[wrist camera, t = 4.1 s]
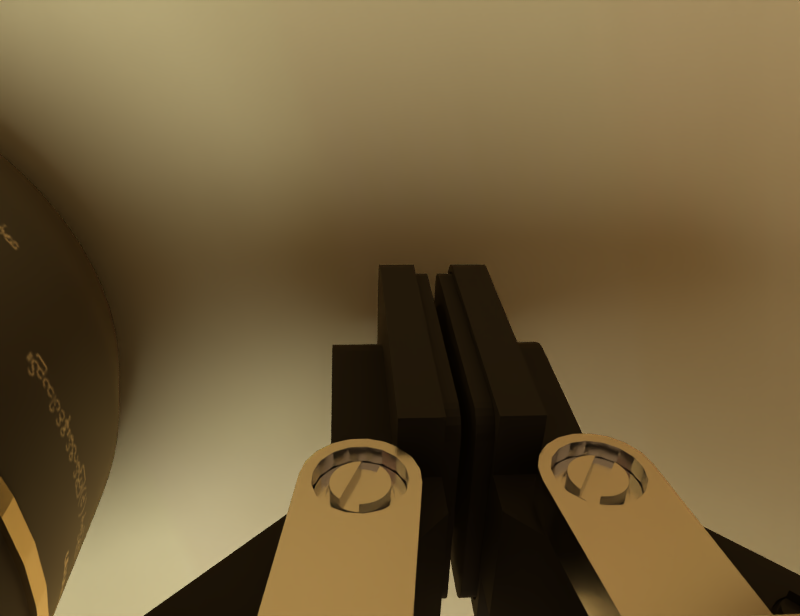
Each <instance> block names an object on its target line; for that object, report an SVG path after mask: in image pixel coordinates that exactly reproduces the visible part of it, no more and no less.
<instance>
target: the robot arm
mask: <svg viewBox="0 0 800 616" xmlns="http://www.w3.org/2000/svg"><path fill="white" fill-rule="evenodd" d="M450 559H451V564H452V570H453V576H454V582H455V588H456V592H457V596H458V597H459V598H465V597H471V601H472V606H473V611H474V616H800V575H798V574H796V573H794V572H792V571H790V570H788V569H786V568H784V567H782V566H780V565H778V564H776V563H774V562H772V561H770V560H768V559H766V558H764V557H763V556H761V555H759V554H757V553H755V552H753V551H751V550H749V549H747V548H745V547H743V546H741V545H739V544H737V543H735V542H733V541H731V540H729V539H727V538H725V537H723V536H721V535H719V534H717V533H715V532H713V531H711V530H709V529H707V528H705V527H703V526H702V524H701V523H700V522H699V521H698V519H697V518H696V517H695V516H694V514H693V513H692V512H691V511H690V509H689V508H688V507H687V506H686V504H685V503H684V502H683V500H682V499H681V498H680V497H679V495H678V494H677V493H676V492H675V490H674V489H673V488H672V487H671V485H670V484H669V483H668V482H667V480H666V479H665V478H664V477H663V475H662V474H661V473H660V471H659V470H658V469H657V468H656V466H655V465H654V464H653V463H652V462H651V461H650V460H649V459H648V458H647V457H646V456H645V455H644V454H643V453H642V452H640V451H638V450H637V449H635V448H633V447H632V446H630V445H628V444H627V443H625V442H622V441H619V440H616V439H614V438H611V437H608V436H602V435H596V434H582V432H581V430H580V428H579V425H578V423H577V421H576V419H575V417H574V415H573V413H572V410H571V408H570V406H569V404H568V402H567V400H566V397H565V395H564V393H563V391H562V389H561V387H560V385H559V382H558V380H557V378H556V376H555V374H554V372H553V370H552V367H551V365H550V363H549V361H548V359H547V357H546V355H545V352H544V350H543V348H542V347H541V345H540V344H539V343H537V342H517V341H516V338H515V336H514V333H513V331H512V329H511V326H510V324H509V321H508V319H507V317H506V314H505V312H504V309H503V307H502V304H501V302H500V300H499V297H498V295H497V292H496V290H495V287H494V285H493V283H492V280H491V278H490V275H489V273H488V271H487V268H486V266H485V265H450V266H449V270H448V274H437V275H436V282H435V298H434V300H433V296H432V291H431V287H430V283H429V279H428V275H427V274H416V273H415V268H414V265H379V280H378V340H377V344H363V345H333V348H332V421H331V444H330V445H328V446H326V447H324V448H322V449H320V450H318V451H316V452H315V453H314V454H313V455H312V456H311V457H310V458H308V459H307V460H306V461H305V463H304V465H303V467H302V469H301V471H300V472H299V475H298V478H297V482H296V485H295V489H294V492H293V496H292V499H291V503H290V506H289V509H288V513H287V515H285V516H284V517H282V518H281V519H279V520H278V521H277V522H275V523H274V524H272V525H271V526H270V527H268V528H267V529H265V530H264V531H263V532H261V533H260V534H258V535H257V536H255V537H254V538H253V539H251V540H250V541H248V542H247V543H246V544H244V545H243V546H241V547H240V548H239V549H237V550H236V551H234V552H233V553H232V554H230V555H229V556H227V557H226V558H224V559H223V560H222V561H220V562H219V563H217V564H216V565H215V566H213V567H212V568H210V569H209V570H208V571H206V572H205V573H203V574H202V575H200V576H199V577H198V578H196V579H195V580H193V581H192V582H191V583H189V584H188V585H186V586H185V587H184V588H182V589H181V590H179V591H178V592H176V593H175V594H174V595H172V596H171V597H169V598H168V599H167V600H165V601H164V602H162V603H161V604H160V605H158V606H157V607H155V608H154V609H152V610H151V611H150V612H148V613H147V614H145V615H144V616H440V611H441V598H446V597H447V593H448V582H449V570H450Z"/></svg>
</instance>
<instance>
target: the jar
mask: <svg viewBox="0 0 800 616" xmlns="http://www.w3.org/2000/svg"><path fill="white" fill-rule="evenodd" d="M118 424H119V355H118V344H117V338H116V332H115V327H114V323H113V319H112V315H111V312H110V308H109V305H108V302H107V299H106V296H105V294H104V291H103V289H102V286H101V284H100V281H99V279H98V277H97V275H96V273H95V271H94V269H93V267H92V265H91V263H90V261H89V259H88V258H87V256H86V254H85V252H84V250H83V249H82V247H81V246H80V244H79V242H78V241H77V239H76V238H75V236H74V235H73V233H72V232H71V230H70V229H69V227H68V226H67V225H66V223H65V222H64V221H63V219H62V218H61V216H60V215H59V214H58V213H57V212H56V210H55V209H54V208H53V207H52V205H51V204H50V203H49V202H48V201H47V199H46V198H45V197H44V196H43V195H42V194H41V193H40V192H39V191H38V190H37V188H36V187H35V186H34V185H33V184H32V183H31V182H30V181H29V180H28V179H27V178H26V177H25V176H24V175H23V174H22V173H21V172H20V171H19V170H18V169H16V168H15V167H14V166H13V165H12V164H11V163H10V162H9V161H7V160H6V159H5V158H4V157H3V156H2V155H1V154H0V616H53V615H54V613H55V610H56V608H57V605H58V603H59V600H60V598H61V596H62V593H63V591H64V588H65V586H66V583H67V581H68V578H69V576H70V573H71V571H72V569H73V566H74V564H75V561H76V559H77V556H78V554H79V551H80V549H81V546H82V544H83V542H84V539H85V537H86V534H87V532H88V529H89V527H90V524H91V522H92V519H93V517H94V514H95V512H96V509H97V507H98V504H99V501H100V499H101V496H102V493H103V491H104V488H105V485H106V483H107V480H108V477H109V473H110V469H111V466H112V462H113V458H114V453H115V448H116V442H117V435H118Z"/></svg>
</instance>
